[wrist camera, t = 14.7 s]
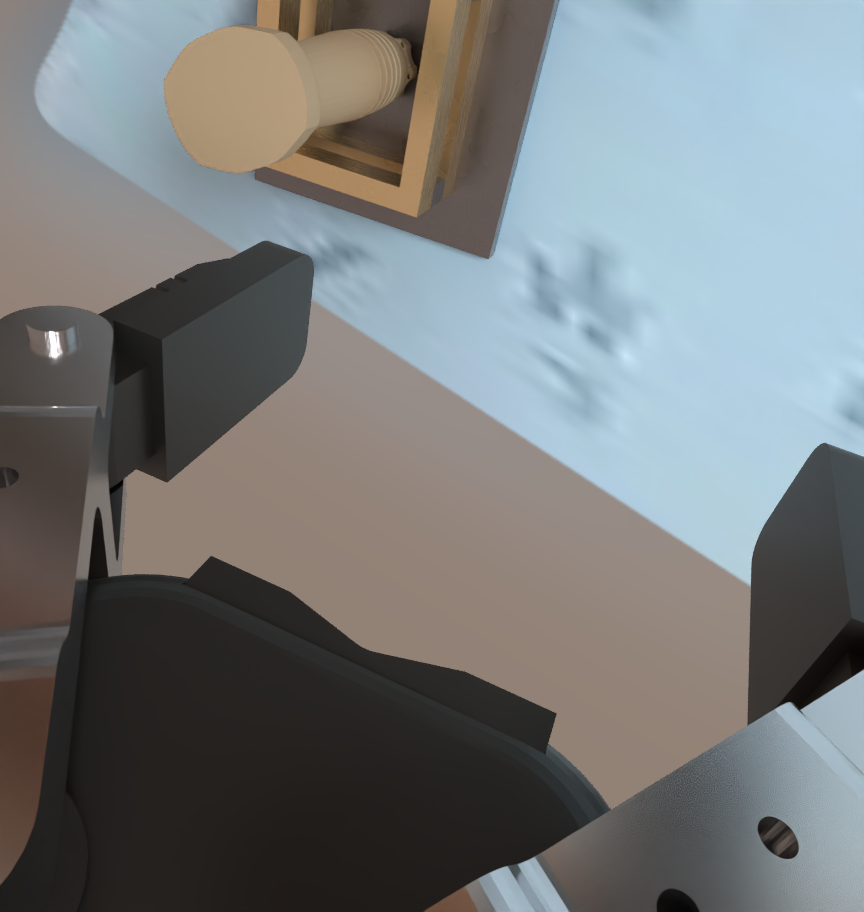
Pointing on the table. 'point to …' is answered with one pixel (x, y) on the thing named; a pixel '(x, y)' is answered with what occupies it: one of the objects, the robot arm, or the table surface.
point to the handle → (277, 90)
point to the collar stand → (426, 115)
